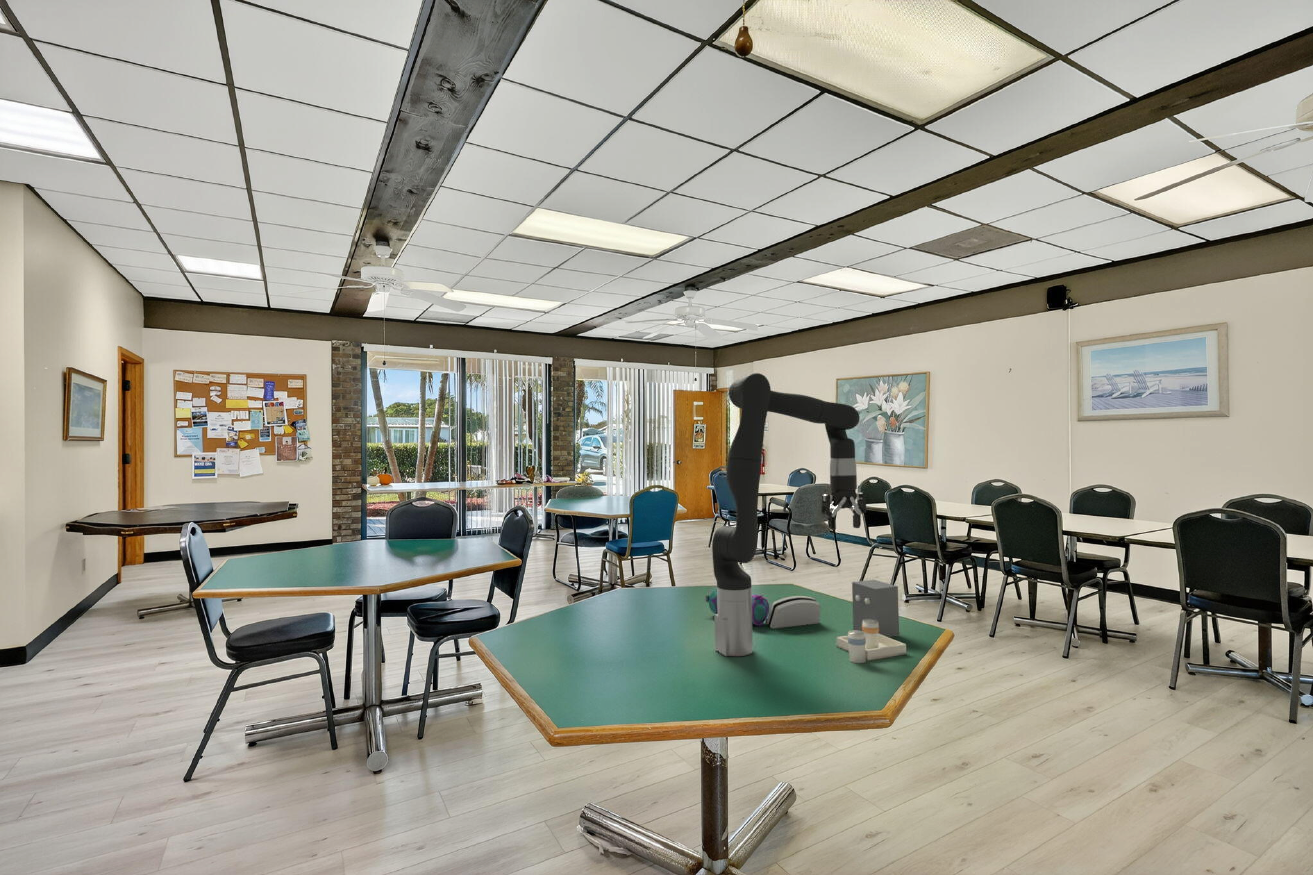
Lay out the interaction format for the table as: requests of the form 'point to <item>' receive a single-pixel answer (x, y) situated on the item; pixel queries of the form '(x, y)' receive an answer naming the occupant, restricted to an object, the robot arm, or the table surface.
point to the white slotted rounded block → (794, 612)
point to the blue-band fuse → (857, 646)
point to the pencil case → (758, 607)
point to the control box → (876, 606)
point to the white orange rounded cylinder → (871, 633)
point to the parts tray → (885, 649)
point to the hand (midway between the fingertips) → (844, 528)
